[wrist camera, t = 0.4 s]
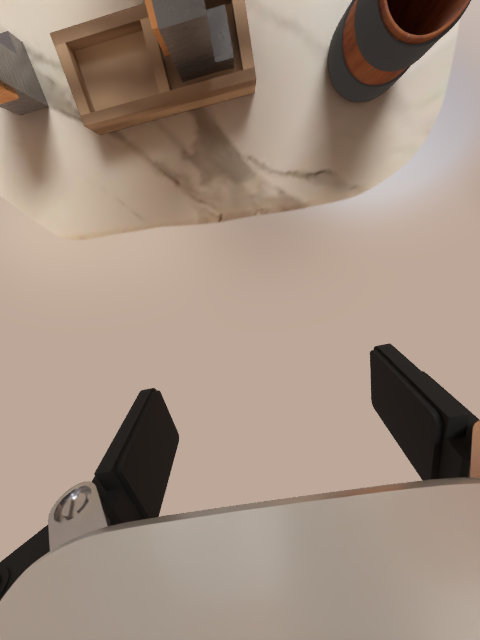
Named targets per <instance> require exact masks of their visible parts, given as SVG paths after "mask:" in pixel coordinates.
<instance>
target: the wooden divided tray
mask: <svg viewBox="0 0 480 640" xmlns="http://www.w3.org/2000/svg"><path fill="white" fill-rule="evenodd" d="M204 3H205V8H206V10H208V9H211V8H214V7H218V6H221V5H224V4H225V8H226V14H227V20H228V26H229V32H230V38H231V44H232V50H233V56H234V68H230V69H227V70H223V71H220V72H216V73H213V74H209V75H206V76H202V77H198V78H195V79H191V80H188V81H184V82H182V80H181V78H180V76H179V73H178V71H177V69H176V67H175V64H174V62H173V60H172V58H171V56H170V55H169V56H166V57H165V55H164V53H163V51H162V49H161V47H160V45H159V43H158V41H157V39H156V36H155V34H154V32H153V30H152V27H151V23H150V20H149V16H148V12H147V8H146V4H145V3H144V4H141V5H138V6H135V7H132V8H129V9H125V10H122V11H119V12H116V13H113V14H109V15H106V16H103V17H100V18H97V19H94V20H90V21H87V22H84V23H81V24H78V25H74V26H71V27H68V28H65V29H62V30H59V31H55V32H52V33H50V35H51V38H52V40H53V43H54V46H55V48H56V51H57V54H58V56H59V59H60V62H61V64H62V67H63V70H64V73H65V75H66V78H67V81H68V83H69V86H70V89H71V91H72V94H73V97H74V99H75V102H76V105H77V107H78V110H79V113H80V116H81V118H82V121H83V124H84V126H85V127H87V128H89V129H91V130H92V131H94V132H96V133H98V134H100V135H101V134H104V133H108V132H112V131H115V130H119V129H123V128H127V127H130V126H134V125H138V124H141V123H145V122H149V121H152V120H156V119H160V118H163V117H167V116H171V115H174V114H178V113H182V112H185V111H189V110H193V109H196V108H200V107H204V106H207V105H211V104H215V103H218V102H222V101H226V100H230V99H233V98H237V97H241V96H244V95H248V94H252V93H254V92H255V84H256V75H255V68H254V61H253V55H252V48H251V41H250V34H249V27H248V20H247V14H246V7H245V0H204Z"/></svg>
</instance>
